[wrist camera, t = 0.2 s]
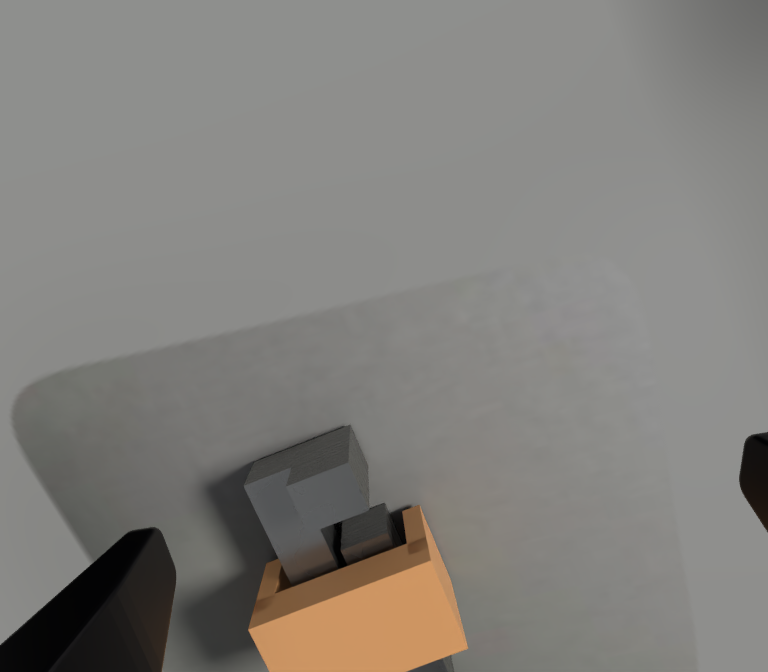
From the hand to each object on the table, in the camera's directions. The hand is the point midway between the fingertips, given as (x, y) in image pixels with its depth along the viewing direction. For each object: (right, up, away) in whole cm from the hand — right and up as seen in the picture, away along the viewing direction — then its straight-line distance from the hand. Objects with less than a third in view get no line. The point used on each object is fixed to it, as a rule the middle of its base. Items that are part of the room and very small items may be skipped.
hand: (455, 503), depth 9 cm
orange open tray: (-2, -8, +16) cm, 18 cm away
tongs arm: (-2, -8, +16) cm, 18 cm away
